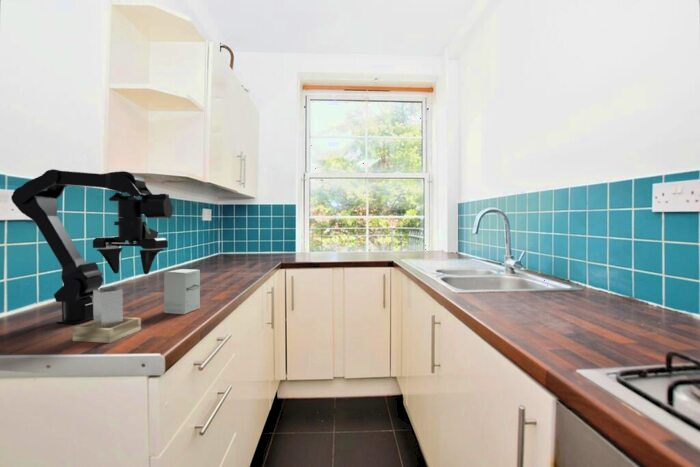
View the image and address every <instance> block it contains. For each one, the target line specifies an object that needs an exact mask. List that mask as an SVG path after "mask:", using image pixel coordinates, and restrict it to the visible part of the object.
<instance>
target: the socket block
mask: <svg viewBox="0 0 700 467" xmlns="http://www.w3.org/2000/svg"><path fill="white" fill-rule="evenodd" d="M123 291H124V290H123V289H122V288H119V287H118V288H117V287H115V286H111V285H110V286H105V287H104V286H103V287H102V286H101V287H100V288H99V289H98V290H93V297H92V303H93V315H94V319H93V321H94V327H95V328H112V327H114V326H117V325H120V324H122V323H123V317H124V306H123V305H124V302H123V301H124V300H123V299H124V295H123V294H124V292H123Z"/></svg>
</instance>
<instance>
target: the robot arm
mask: <svg viewBox="0 0 700 467" xmlns="http://www.w3.org/2000/svg"><path fill="white" fill-rule="evenodd" d="M146 184H147V183H146V181H145V178H144V177H143V176H142V175H140V174H137V173H133V172H129V171H123V170H121V171H112V172H107V173H94V172H82V171H81V172H80V171H69V170H68V171H67V170H60V169H55V168H54V169H53V168H52V169H49V170H46V171H45V172H44V173H42V174H40V175H39V176H37V177H35V178H33V179H31V180H28V181H25V183H23V185H21V186H19V187H17V188H15V189H14V191H13V192H12V195H11V198H10V199H11V201H12V203H13V204H14V206H15V207H16V208H17V209H18V210H19V211H20V213H22V214H23V215H25V216H26V217H28V218H30V219H31V220H32V221H33V222H34V223H35V225H36V226H37V228H38V230H39V232H40V233H41V235H42V236H43V238H44V240H45V241H46V243H47V245H48V246H49V248H50V250H51V251H52V253H53V255H54V256H55V258H56V259H57V262H58V263H59V265H60V266H61V282H62V284H63V285H62V286H61V287H60V288H59V289H58V290H57V291H55V293H54V294H53V297H54V300H55V301H56V303H61V319H59V320H58V319H57V320H56V321H55V322H56V324H68V325H69V324H71V325H72V324H73V325H78V324H81V323H84V322H85V323H86V322H88V321H91V320H94V311H93V297H92V296H93V290H99V289H100V288H101V287H102V285H103V282H104V278H103V275H104V273H103V272H102V271H101V270H100V268H99V266H98V264H97V263H96V262H95V261H94V262H93V261H92V262H88V261H86V260H85V259H84V258H83V257H82V255H81V253H80V251H79V250H78V248H77V247H76V245H75V243H74V241H73V240H72V238H71V236H70V235H69V233H68V231H67V230H66V228H65V226H64V225H63V223H62V221H61V220H60V218H59V216H58V202H57V200H58V199H59V198H60V197H61V196H62V195H63V192H64V191H65V188H66V187H67V186H72V187H73V186H75V187H85V188H86V187H89V188H99V189H101V188H102V189H108V190H111V191H113V192H114V191H115V194H113V195H111V196H110V197H109V198H108V200H109V201H110V202H117V221H114V222H113V224H114V226H118V227H117V232H118V233H117V234H118V235H117V236H106V237H95V238H94V239H93V240H92V248H93V249H96V251H97V252H99V253H100V254H101V256H102V257H103V258H104V260H106V263H107V264H108V266H109V267H110V268H111V270H112V272H113V274H119V272H120V255H121V254H120V253H121V252H122V250H123V247H141V249H140V250H139V255H140V261H141V267H142V271H143V274H144V275H148V274H149V273H150V270H151V267H152V265H153V262H154V261H155V258H156V257H157V255H158V254H159V253H160V252H163V251H164V249H165V248H169V242H168V240H167V238H166V237H158V236H159V231H157V230H155V229H152V228H149V227H148V226H147V221H143V220H144V219H143V217H145V218H147V219H170V218H171V217H172V216H173V213H174V207H173V204H172V201H171V199H170V194H167V193H158V194H155V193H154V194H153V192H152V191H151V190H150V189H149V188H148V186H147V185H146ZM122 193H124V194H128V195H123V194H122ZM137 198H139V199H137ZM140 198H141V199H140ZM143 215H144V216H143Z"/></svg>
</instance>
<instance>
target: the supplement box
mask: <svg viewBox="0 0 700 467" xmlns="http://www.w3.org/2000/svg"><path fill="white" fill-rule="evenodd" d="M163 274H164V275H163V277H164V278H163V281H164V282H163V286H164V287H163V293H164V294H163V297H164V298H163V300H164V301H163V304H164V305H163V308H164V311H163V313H164V314H174V315H186V314H188V313H191V312H194V311H195V310H199V309H200V308H201V304H200V303H201V270H200V269H194V268H193V269H191V268H190V269H189V268H180V269H175V270H168V271H164V272H163Z"/></svg>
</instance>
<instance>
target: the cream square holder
mask: <svg viewBox="0 0 700 467" xmlns="http://www.w3.org/2000/svg"><path fill="white" fill-rule="evenodd" d="M141 330H142V318H141V317H130V316H129V317H127V316H123V323H122V324H120V325H117V326H114V327H112V328H95V327H94V320H92V321H90V322H87V323H86V322H85V323H83V324H79V325H78V326H74V327H72V341H73V342H87V343H90V342H91V343H104V344H105V343H107V344H110V343H113V342H115V341H118V340H120V339H122V337H123V338H125V337H127V336H130V335H132V334H134V333H137V332H139V331H141Z"/></svg>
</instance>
